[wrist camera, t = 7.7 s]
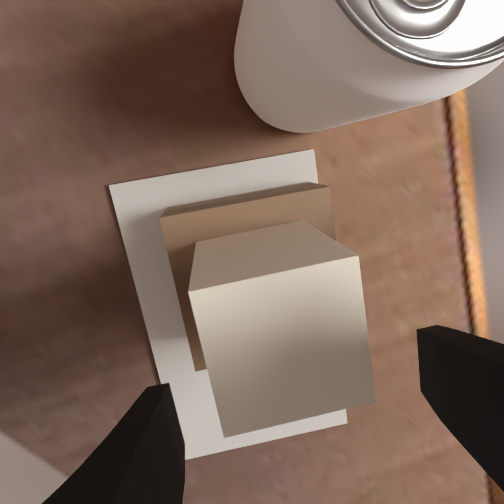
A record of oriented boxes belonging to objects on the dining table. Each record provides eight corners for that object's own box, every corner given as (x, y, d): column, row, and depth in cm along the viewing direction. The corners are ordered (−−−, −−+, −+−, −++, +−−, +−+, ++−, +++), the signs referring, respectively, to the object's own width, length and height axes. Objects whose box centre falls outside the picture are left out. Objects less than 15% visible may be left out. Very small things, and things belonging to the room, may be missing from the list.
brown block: (324, 310, 21) (347, 339, 17) (197, 336, 20) (195, 371, 17) (307, 181, 19) (329, 186, 15) (168, 207, 18) (159, 217, 15)
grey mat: (345, 418, 23) (347, 423, 22) (181, 455, 22) (181, 460, 22) (311, 149, 19) (313, 149, 18) (110, 184, 18) (108, 185, 18)
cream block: (318, 318, 17) (376, 401, 11) (219, 340, 16) (224, 438, 11) (302, 219, 16) (358, 255, 10) (196, 242, 15) (188, 291, 10)
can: (212, 101, 18) (218, -6, 6) (264, -42, 17) (390, -504, 5) (332, 155, 19) (525, 148, 7) (389, 24, 18) (721, -225, 6)
